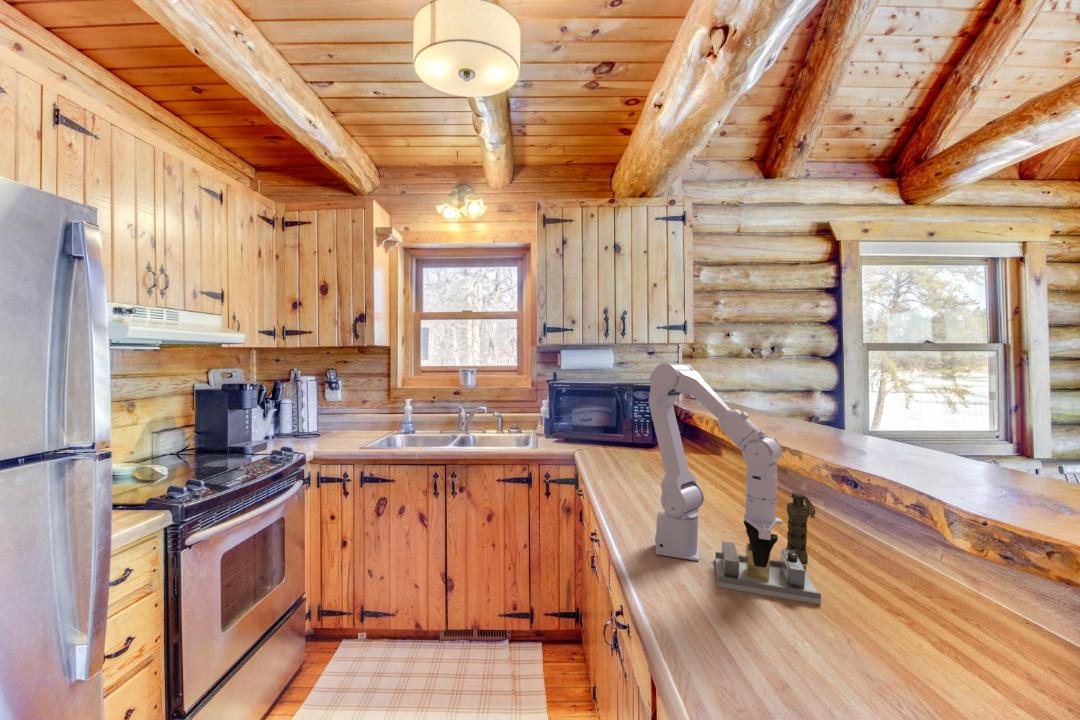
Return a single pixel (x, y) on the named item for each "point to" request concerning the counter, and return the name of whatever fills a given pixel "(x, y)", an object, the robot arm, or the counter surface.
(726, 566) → the fixed jaw
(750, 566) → the block
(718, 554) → the board
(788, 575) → the bar
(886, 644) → the counter surface
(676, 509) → the robot arm
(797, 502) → the grenade
